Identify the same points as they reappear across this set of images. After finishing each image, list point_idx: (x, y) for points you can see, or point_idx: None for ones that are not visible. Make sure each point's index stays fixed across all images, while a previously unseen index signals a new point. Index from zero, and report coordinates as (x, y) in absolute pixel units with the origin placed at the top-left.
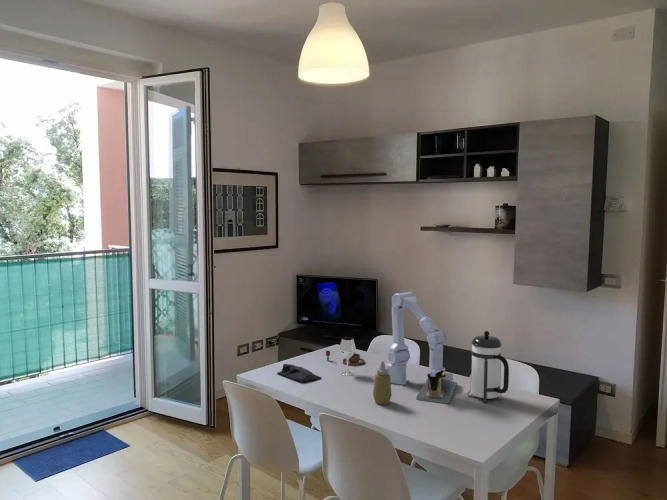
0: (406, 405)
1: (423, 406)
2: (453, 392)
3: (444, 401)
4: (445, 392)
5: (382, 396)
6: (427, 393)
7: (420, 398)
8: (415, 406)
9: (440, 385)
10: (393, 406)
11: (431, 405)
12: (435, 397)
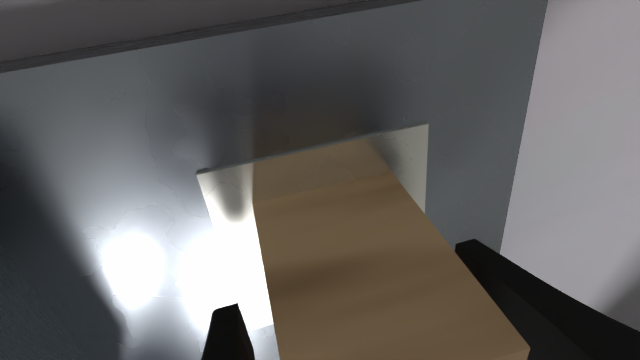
0: (604, 282)
1: (617, 187)
2: (5, 64)
3: (531, 45)
4: (202, 156)
5: None
6: None
7: None
8: (619, 232)
9: (336, 278)
10: (625, 321)
11: (588, 141)
12: (455, 184)
